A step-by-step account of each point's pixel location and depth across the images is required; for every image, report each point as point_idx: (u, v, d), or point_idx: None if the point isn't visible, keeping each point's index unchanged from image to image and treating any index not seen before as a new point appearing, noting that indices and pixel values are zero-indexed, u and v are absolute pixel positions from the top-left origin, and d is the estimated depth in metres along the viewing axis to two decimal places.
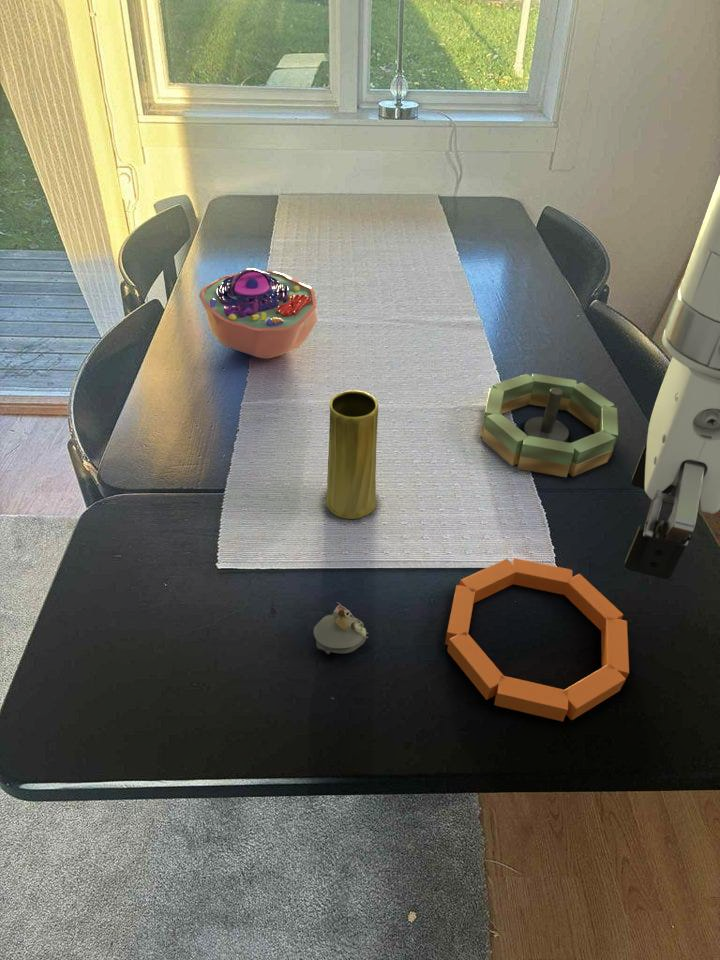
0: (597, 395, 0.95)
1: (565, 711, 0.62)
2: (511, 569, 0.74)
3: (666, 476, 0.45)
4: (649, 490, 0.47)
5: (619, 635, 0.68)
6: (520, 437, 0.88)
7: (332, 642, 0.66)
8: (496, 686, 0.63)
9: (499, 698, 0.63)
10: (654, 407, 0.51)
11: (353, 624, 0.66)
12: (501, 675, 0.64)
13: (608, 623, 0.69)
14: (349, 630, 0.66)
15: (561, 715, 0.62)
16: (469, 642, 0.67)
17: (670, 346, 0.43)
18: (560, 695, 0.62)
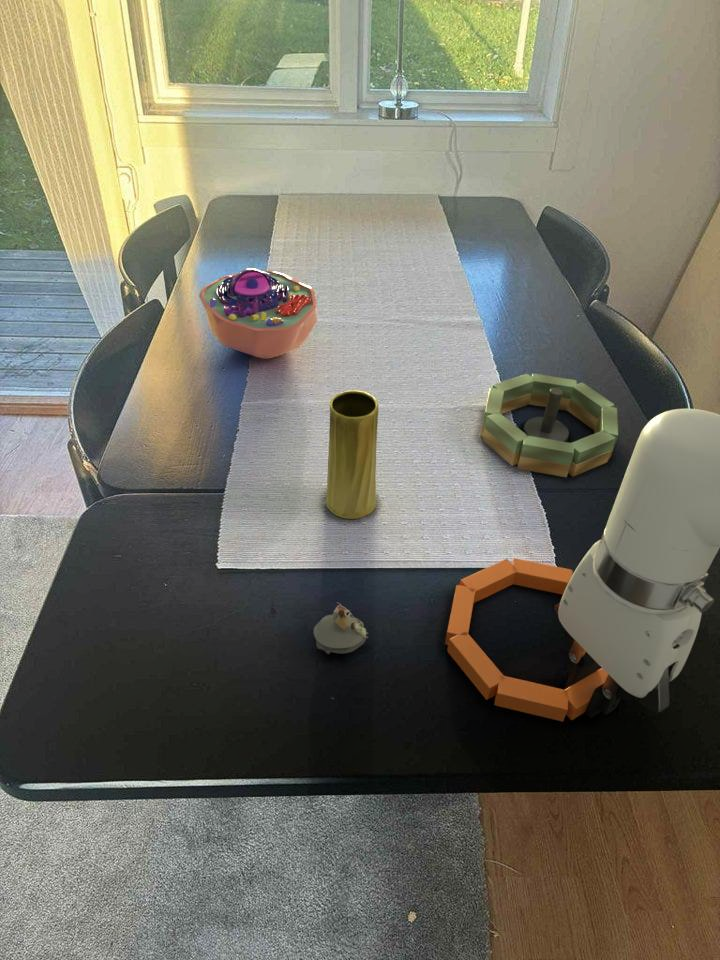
0: (597, 395, 0.95)
1: (565, 711, 0.62)
2: (511, 569, 0.74)
3: None
4: (638, 694, 0.56)
5: None
6: (520, 437, 0.88)
7: (332, 642, 0.66)
8: (496, 686, 0.63)
9: (499, 698, 0.63)
10: (574, 616, 0.59)
11: (353, 624, 0.66)
12: (501, 675, 0.64)
13: None
14: (349, 630, 0.66)
15: (561, 715, 0.62)
16: (469, 642, 0.67)
17: (629, 603, 0.51)
18: (560, 695, 0.62)
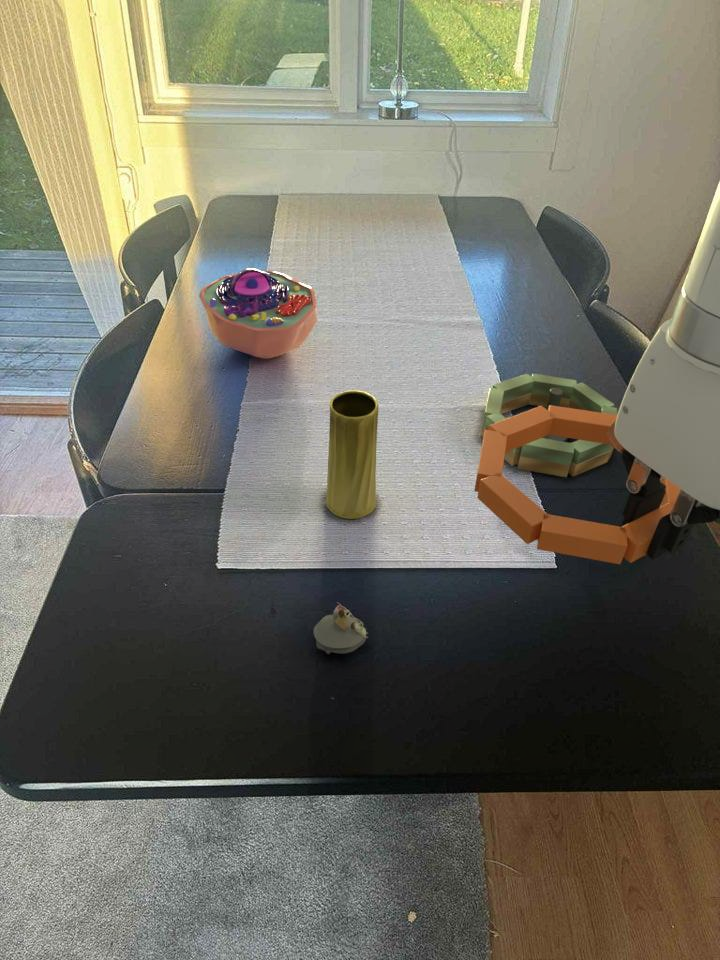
0: (597, 395, 0.95)
1: (624, 548, 0.51)
2: (547, 415, 0.63)
3: None
4: None
5: None
6: None
7: (332, 642, 0.66)
8: (539, 525, 0.53)
9: (543, 538, 0.53)
10: (637, 424, 0.49)
11: (353, 624, 0.66)
12: (544, 513, 0.54)
13: None
14: (349, 630, 0.66)
15: (619, 555, 0.52)
16: (504, 482, 0.56)
17: (719, 369, 0.41)
18: (617, 532, 0.52)
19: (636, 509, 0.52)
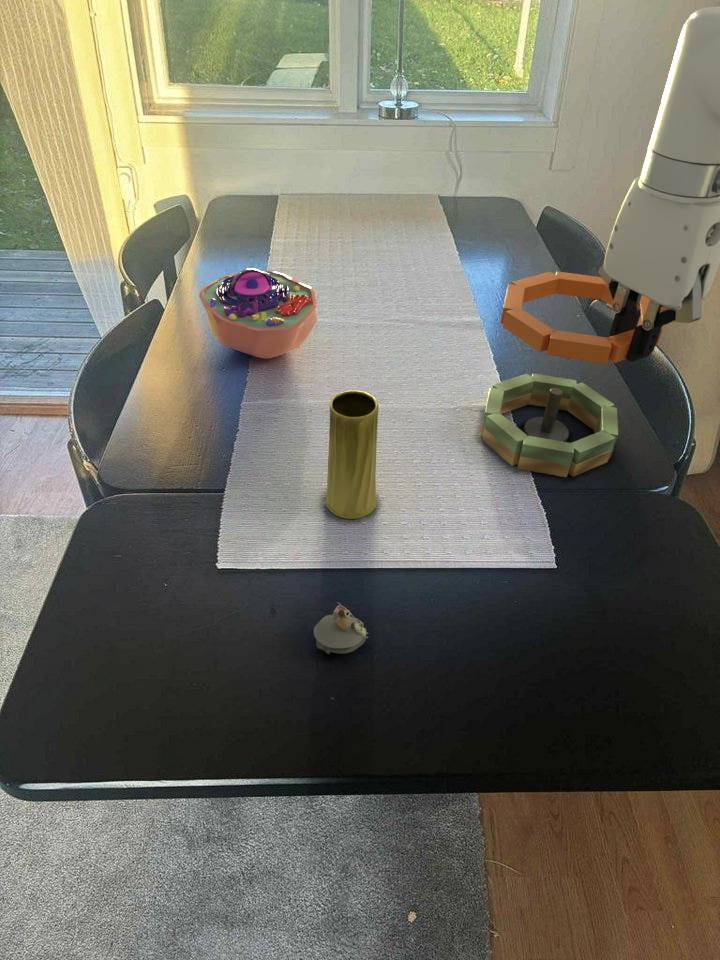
0: (597, 395, 0.95)
1: (609, 349, 0.72)
2: (555, 277, 0.84)
3: None
4: (675, 301, 0.66)
5: None
6: (520, 437, 0.88)
7: (332, 642, 0.66)
8: (548, 336, 0.74)
9: (551, 345, 0.73)
10: (619, 254, 0.69)
11: (353, 624, 0.66)
12: (552, 329, 0.74)
13: (642, 305, 0.79)
14: (349, 630, 0.66)
15: (605, 355, 0.72)
16: (523, 313, 0.77)
17: (671, 196, 0.61)
18: (604, 340, 0.73)
19: (619, 324, 0.73)
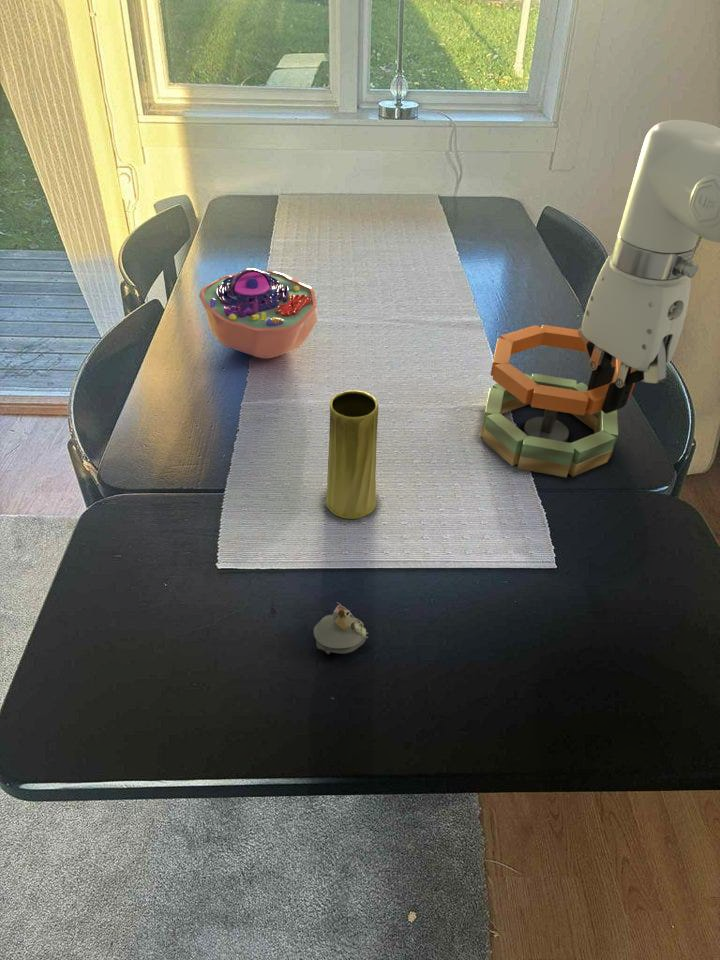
0: None
1: (586, 403, 0.81)
2: (540, 330, 0.93)
3: None
4: (643, 365, 0.75)
5: None
6: (520, 437, 0.88)
7: (332, 642, 0.66)
8: (532, 390, 0.83)
9: (535, 398, 0.82)
10: (594, 321, 0.78)
11: (353, 624, 0.66)
12: (536, 384, 0.83)
13: (618, 359, 0.88)
14: (349, 630, 0.66)
15: (583, 408, 0.81)
16: (510, 367, 0.86)
17: (637, 278, 0.70)
18: (582, 394, 0.82)
19: (595, 380, 0.82)
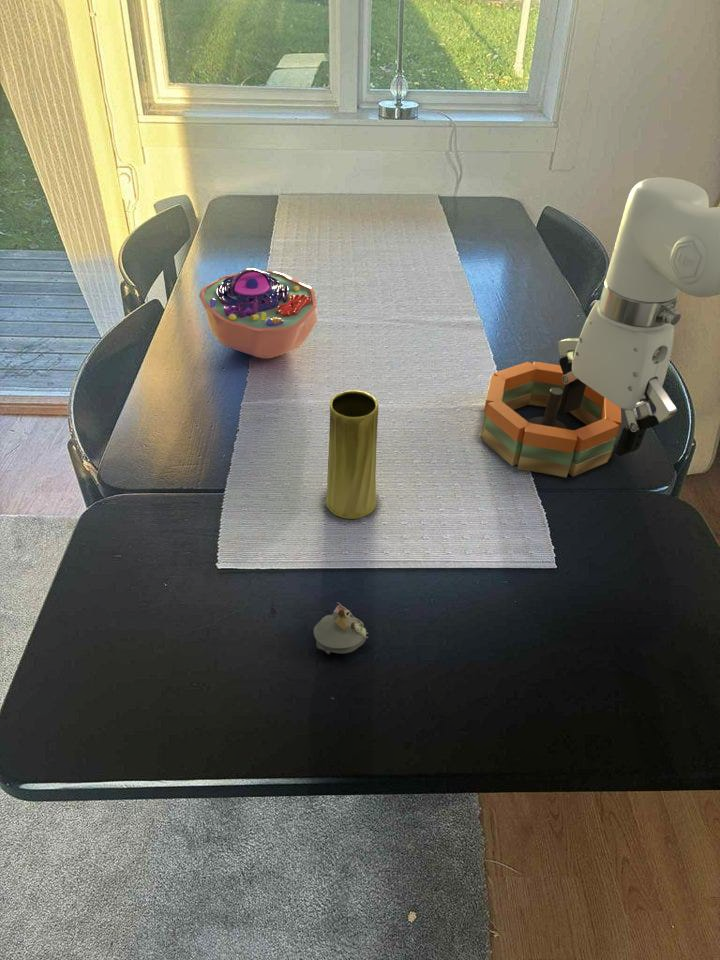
0: None
1: (574, 442, 0.85)
2: (532, 367, 0.97)
3: (640, 393, 0.77)
4: (629, 405, 0.78)
5: None
6: None
7: (332, 642, 0.66)
8: (524, 429, 0.86)
9: (526, 436, 0.86)
10: (583, 362, 0.82)
11: (353, 624, 0.66)
12: (527, 422, 0.87)
13: None
14: (349, 630, 0.66)
15: (571, 446, 0.85)
16: (502, 405, 0.89)
17: (623, 324, 0.74)
18: (571, 433, 0.85)
19: (567, 394, 0.87)
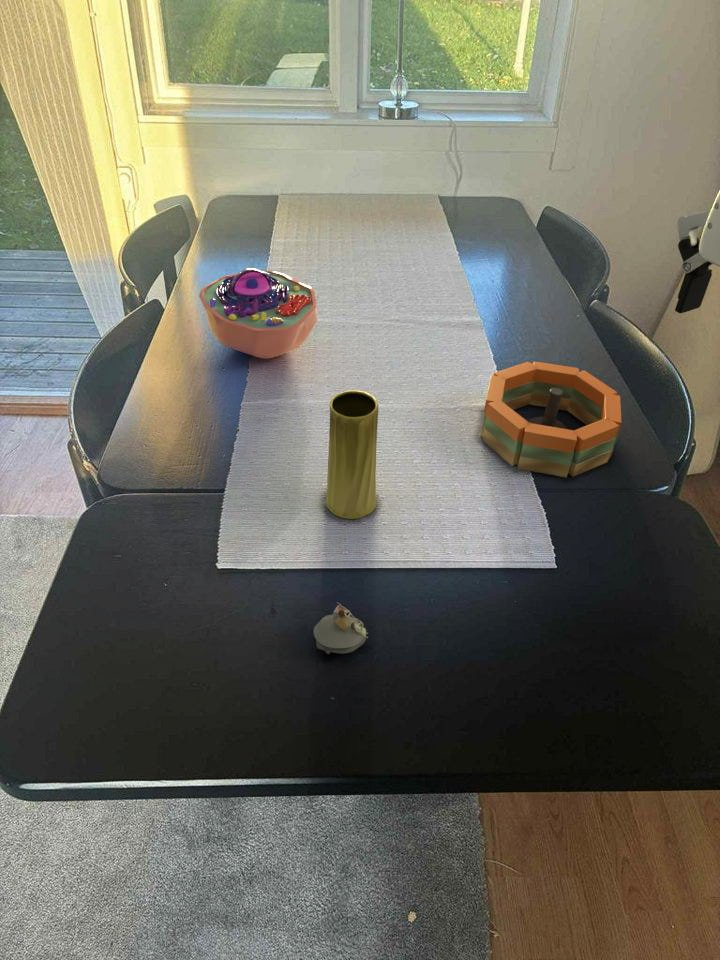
0: None
1: (574, 442, 0.85)
2: (532, 367, 0.97)
3: None
4: None
5: (614, 403, 0.91)
6: None
7: (332, 642, 0.66)
8: (524, 429, 0.86)
9: (526, 436, 0.86)
10: (719, 234, 0.64)
11: (353, 624, 0.66)
12: (527, 422, 0.87)
13: (606, 397, 0.92)
14: (349, 630, 0.66)
15: (571, 446, 0.85)
16: (502, 405, 0.89)
17: None
18: (571, 433, 0.85)
19: (689, 285, 0.69)
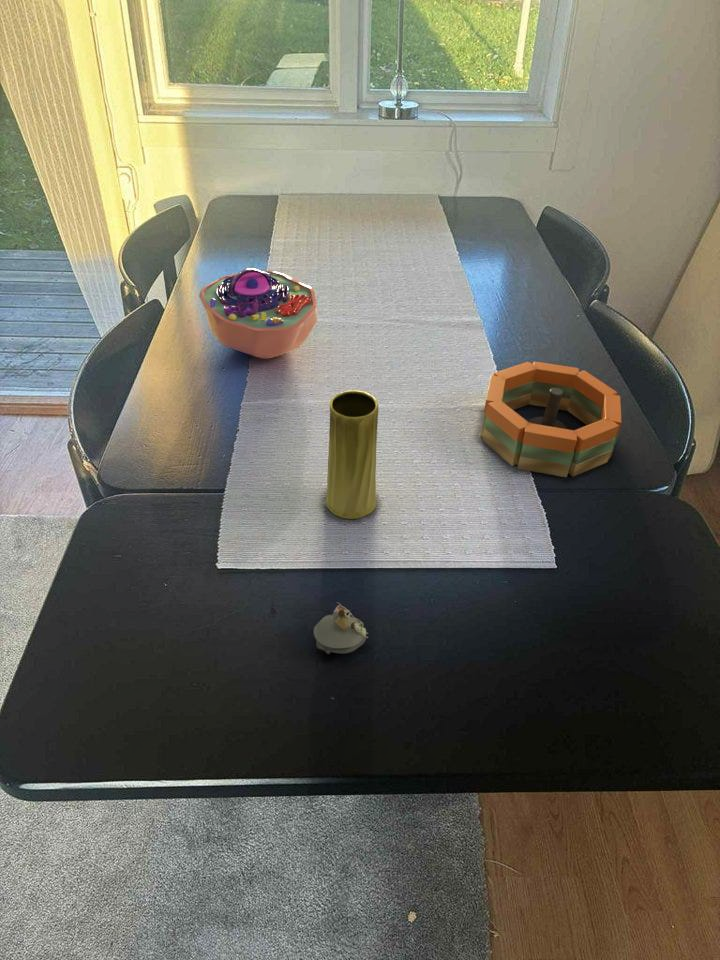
0: None
1: (574, 442, 0.85)
2: (532, 367, 0.97)
3: None
4: None
5: (614, 403, 0.91)
6: None
7: (332, 642, 0.66)
8: (524, 429, 0.86)
9: (526, 436, 0.86)
10: None
11: (353, 624, 0.66)
12: (527, 422, 0.87)
13: (606, 397, 0.92)
14: (349, 630, 0.66)
15: (571, 446, 0.85)
16: (502, 405, 0.89)
17: None
18: (571, 433, 0.85)
19: None
